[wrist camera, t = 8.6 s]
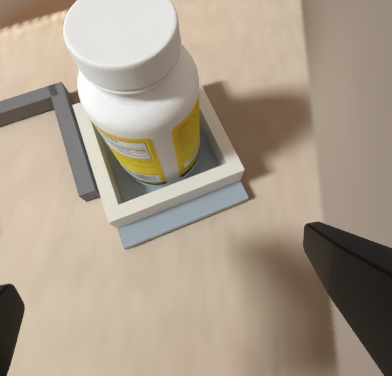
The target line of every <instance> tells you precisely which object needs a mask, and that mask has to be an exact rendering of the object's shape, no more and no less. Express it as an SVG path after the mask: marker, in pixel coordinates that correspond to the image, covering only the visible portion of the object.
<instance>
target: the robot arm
mask: <svg viewBox="0 0 392 376" xmlns="http://www.w3.org/2000/svg"><path fill="white" fill-rule="evenodd" d="M303 247H304V251H305V253H306V255H307V257H308V258H309V260H310V262H311V264H312V266H313V268H314V269H315V271H316V273H317V275H318V277H319V279H320V280H321V282H322V284H323V286H324V288H325V289H326V291H327V293H328V294H329V296H330V297H331V299H332V301H333V302H334V303H335V305H336V306H337V308H338V309H339V311H340V312H341V314H342V315H343V316H344V318H345V319H346V321H347V322H348V324H349V325H350V327H351V328H352V330H353V331H354V332H355V334H356V335H357V337H358V338H359V340H360V341H361V342H362V344H363V345H364V347H365V348H366V350H367V351H368V353H369V354H370V356H371V357H372V359H373V360H374V361H375V363H376V364H377V366H378V367H379V369H380V370H381V372H382V373H383V374H384V376H392V248H389V247H387V246H384V245H381V244H378V243H376V242H373V241H370V240H368V239H365V238H362V237H359V236H357V235H354V234H351V233H348V232H345V231H343V230H340V229H337V228H335V227H332V226H329V225H326V224H324V223H321V222H312V223H307V224H306V225H305V226H304V239H303ZM24 310H25V307H24V303H23V301H22V299H21V297H20V295H19V294H18V292H17V290H16V288H15V287H14V285H12V284H4V285H0V376H7V373H8V370H9V367H10V364H11V361H12V357H13V354H14V350H15V346H16V342H17V338H18V334H19V330H20V326H21V323H22V319H23V315H24Z"/></svg>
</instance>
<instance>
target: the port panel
mask: <svg viewBox="0 0 392 376" xmlns="http://www.w3.org/2000/svg"><path fill="white" fill-rule="evenodd" d="M72 106H73V109H74V112H75V116H76V119H77V122H78V125H79V129H80V132H81V135H82V138H83V142H84V145H85V148H86V151H87V154H88V158H89V161H90V164H91V167H92V171H93V174H94V177H95V180H96V183H97V187H98V190H99V193H100V196H101V200H102V203H103V206H104V209H105V212H106V216H107V219H108V222H109V223H110V224H111V225H113V226H114V227H116V228H117V229H118V232H119V235H120V238H121V241H122V244H123V247H124V249H126V250H127V249H129V248H131V247H134V246H136V245H139V244H141V243H144V242H146V241H149V240H151V239H154V238H156V237H159V236H161V235H164V234H166V233H168V232H171V231H173V230H176V229H178V228H181V227H183V226H186V225H188V224H191V223H193V222H196V221H198V220H201V219H203V218H205V217H208V216H210V215H213V214H215V213H218V212H220V211H223V210H225V209H228V208H230V207H233V206H235V205H237V204H240V203H242V202H245V201H247V200H248V198H249V197H248V195H247V193H246V191H245V189H244V187H243V185H242V183H241V181H240V180H241V177H242V175H243V173H244V170H245V169H244V167H243V165H242V163H241V161H240V159H239V157H238V156H237V154H236V152H235V150H234V148H233V146H232V144H231V142H230V140H229V138H228V136H227V134H226V132H225V130H224V128H223V126H222V124H221V122H220V120H219V118H218V116H217V114H216V112H215V110H214V108H213V106H212V104H211V102H210V101H209V99H208V97H207V95H206V93H205V91H204V89H203V87H202V85H201V83H200V81H199V120H200V123H199V124H200V153H199V158H198V161H197V163H196V165H195V167H194V169H193V170H192V171H191V172H190V174H189V175H188V176H186V177H185V178H184V179H183V180H181V181H179V182H176V183H174V184H171V185H169V186H164V187H152V186H148V185H144V184H142V183H139V182H138V181H136V180H134V179H133V178H132V177H131V176H130V175H129V174H128V173H127V172H126V171H125V169H124V168H123V167H122V165H121V164H120V162H119V161H118V159H117V158H116V157H115V155H114V154H113V152H112V151H111V149H110V148H109V146H108V145H107V143H106V142H105V140H104V139H103V137H102V136H101V134H100V133H99V131H98V130H97V128H96V127H95V125H94V124H93V123H92V121H91V120H90V118H89V117H88V115H87V113H86V112H85V110H84V108H83V106H82V103H81V102H80V103H77V104H74V105H72Z"/></svg>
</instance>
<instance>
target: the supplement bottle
mask: <svg viewBox="0 0 392 376" xmlns="http://www.w3.org/2000/svg"><path fill="white" fill-rule="evenodd" d="M63 35H64V39H65V43H66V45H67V47H68V49H69V51H70V53H71V54H72V56H73V58H74V60H75V62H76V64H77V66H78V68H79V69H80V70H79V74H78V81H77V88H78V95H79V98H80V101H81V103H82V106H83V108H84V110H85V112H86V113H87V115H88V117H89V118H90V120H91V121H92V123H93V124H94V125H95V127H96V128H97V130H98V131H99V133H100V134H101V136H102V137H103V139H104V140H105V142H106V143H107V145H108V146H109V148H110V149H111V151H112V152H113V154H114V155H115V157H116V158H117V159H118V161H119V162H120V164H121V165H122V167H123V168H124V169H125V171H126V172H127V173H128V174H129V175H130V176H131V177H132V178H133V179H134V180H136V181H138V182H139V183H142V184H144V185H148V186H152V187H164V186H169V185H171V184H174V183H176V182H179V181H181V180H183V179H184V178H185V177H186V176H188V175H189V174H190V172H191V171H192V170H193V169H194V167H195V165H196V163H197V161H198V158H199V153H200V124H199V123H200V120H199V77H198V71H197V67H196V65H195V62H194V60H193V58H192V57H191V55H190V54H189V52H188V51H187V50H186V48H185V47H184V46H183V45H182V44H181V38H180V31H179V23H178V16H177V12H176V9H175V7H174V5H173V4H172V2H171V1H170V0H77V1H76V2H75V3H74V4H73V5H72V7H71V8H70V10H69V11H68V13H67V15H66V18H65V21H64V27H63Z"/></svg>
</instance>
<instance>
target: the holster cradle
mask: <svg viewBox="0 0 392 376" xmlns="http://www.w3.org/2000/svg"><path fill="white" fill-rule="evenodd" d="M72 105H73V104H72V101H71V98H70V94H69V92H68V91H67V89H66V88H65V86H64V85H63V83H62V82H60V83H57V84H53V85H50V86H47V87H44V88H41V89H38V90H34V91H31V92H28V93H25V94H22V95H19V96H16V97H12V98H9V99H6V100H3V101H0V126H3V125H6V124H9V123H12V122H15V121H18V120H21V119H25V118H28V117H31V116H34V115H37V114H40V113H43V112H46V111H49V110H52V109H55V113H56V116H57V120H58V123H59V127H60V130H61V134H62V138H63V141H64V145H65V148H66V152H67V155H68V159H69V162H70V166H71V169H72V173H73V176H74V180H75V183H76V187H77V191H78V194H79V197H81V198H82V199H84V200H85V201H86V202H87V201H89V200H92V199H95V198H97V197H100V193H99V190H98V187H97V183H96V180H95V177H94V174H93V171H92V167H91V164H90V161H89V158H88V154H87V151H86V148H85V145H84V142H83V138H82V135H81V132H80V129H79V125H78V122H77V119H76V116H75V112H74V109H73V106H72Z"/></svg>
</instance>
